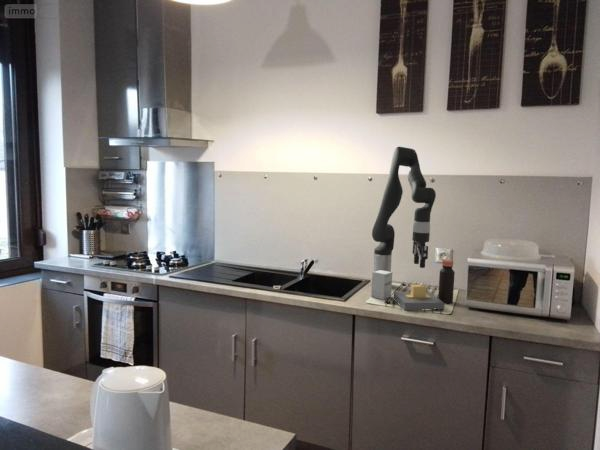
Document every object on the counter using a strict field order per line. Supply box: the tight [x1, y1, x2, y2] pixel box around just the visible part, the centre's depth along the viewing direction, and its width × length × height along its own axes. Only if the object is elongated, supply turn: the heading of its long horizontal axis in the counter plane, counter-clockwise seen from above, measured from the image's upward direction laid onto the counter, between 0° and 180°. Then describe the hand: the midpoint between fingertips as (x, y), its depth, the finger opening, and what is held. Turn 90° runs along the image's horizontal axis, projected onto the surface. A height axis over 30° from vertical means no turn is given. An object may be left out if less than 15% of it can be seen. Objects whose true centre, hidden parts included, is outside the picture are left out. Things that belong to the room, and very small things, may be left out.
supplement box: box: [370, 270, 393, 300], centre depth 231 cm, size 7×7×13 cm
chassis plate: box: [393, 291, 445, 311], centre depth 219 cm, size 18×18×4 cm
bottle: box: [437, 259, 456, 305], centre depth 224 cm, size 7×7×20 cm
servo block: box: [405, 282, 431, 299], centre depth 219 cm, size 4×11×10 cm, turn 94°
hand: (419, 265), depth 217 cm, fingers open, 8 cm apart
